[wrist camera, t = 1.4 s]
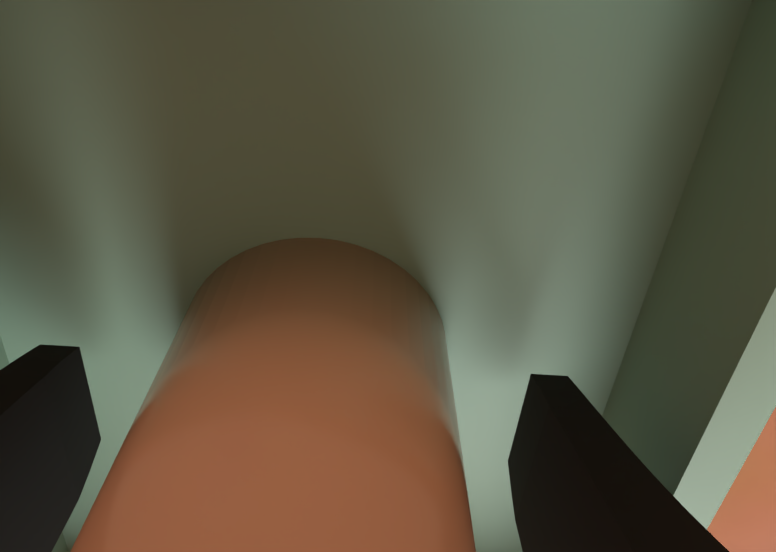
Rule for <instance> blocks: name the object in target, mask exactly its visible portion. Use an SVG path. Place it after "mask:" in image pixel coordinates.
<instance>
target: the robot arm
mask: <svg viewBox="0 0 776 552" xmlns="http://www.w3.org/2000/svg"><path fill="white" fill-rule="evenodd" d="M100 442H101V436H100V432H99V428H98V423H97V419H96V415H95V411H94V406H93V402H92V398H91V393H90V389H89V385H88V381H87V376H86V372H85V368H84V364H83V359H82V355H81V351H80V347H76V346H59V345H43V344H40V345H38V346H37V347H35V348H33V349H32V350H30V351H29V352H27V353H25V354H24V355H22V356H21V357H19V358H18V359H16V360H15V361H13V362H11V363H10V364H8V365H7V366H5V367H4V368H2V369H1V370H0V552H52V550H53V548H54V546H55V544H56V543H57V541H58V539H59V537H60V535H61V533H62V531H63V529H64V527H65V525H66V523H67V521H68V520H69V518H70V516H71V514H72V512H73V510H74V508H75V506H76V504H77V502H78V500H79V498H80V495H81V493H82V490H83V488H84V485H85V482H86V480H87V477H88V475H89V472H90V469H91V467H92V464H93V461H94V458H95V456H96V453H97V450H98V447H99V444H100ZM508 468H509V476H510V485H511V494H512V501H513V508H514V515H515V522H516V526H517V530H518V534H519V539H520V543H521V547H522V551H523V552H729V551H728V550H727V549H726V548H725V547H724V546H723V545H722V544H721V543H720V542H718V541H717V540H716V539H715V538H714V537H713V536H712V535H711V534H710V533H709V532H708V531H707V530H706V529H705V528H704V527H703V526H702V525H701V524H700V523H699V522H698V521H697V520H696V519H695V518H694V517H693V516H692V515H691V514H690V513H689V512H688V511H687V510H686V509H685V508H684V507H683V506H682V505H681V503H680V502H679V501H678V500H677V499H676V498H675V497H674V496H673V495H672V494H671V493H670V492H669V491H668V490H667V489H666V488H665V487H664V486H663V485H662V483H661V482H660V481H659V480H658V479H657V478H656V477H655V476H654V475H653V474H652V473H651V471H650V470H649V469H648V468H647V467H646V466H645V465H644V464H643V463H642V461H641V460H640V459H639V458H638V457H637V456H636V455H635V454H634V453H633V451H632V450H631V449H630V448H629V447H628V446H627V445H626V443H625V442H624V441H623V440H622V439H621V438H620V437H619V435H618V434H617V433H616V432H615V431H614V430H613V428H612V427H611V426H610V425H609V424H608V423H607V421H606V420H605V419H604V418H603V417H602V416H601V414H600V413H599V412H598V411H597V410H596V408H595V407H594V406H593V405H592V404H591V402H590V401H589V400H588V399H587V398H586V397H585V395H584V394H583V393H582V392H581V391H580V389H579V388H578V387H577V386H576V385H575V384H574V382H573V381H572V380H571V379H570V378H569V377H568V376H560V375H543V374H531V375H530V379H529V383H528V386H527V390H526V394H525V398H524V402H523V405H522V409H521V413H520V417H519V420H518V424H517V428H516V432H515V435H514V439H513V443H512V447H511V451H510V454H509V458H508Z"/></svg>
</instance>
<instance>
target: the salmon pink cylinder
mask: <svg viewBox="0 0 776 552" xmlns="http://www.w3.org/2000/svg"><path fill="white" fill-rule="evenodd" d="M70 552H476V548H475V541H474V534H473V527H472V520H471V513H470V506H469V499H468V491H467V484H466V477H465V470H464V463H463V456H462V449H461V442H460V435H459V428H458V421H457V413H456V406H455V399H454V392H453V385H452V378H451V371H450V364H449V357H448V350H447V343H446V335H445V331H444V327H443V323H442V319H441V317H440V314H439V312H438V310H437V308H436V306H435V304H434V302H433V301H432V299H431V298H430V296H429V294H428V293H427V292H426V291H425V289H424V288H423V287H422V286H421V285H420V283H419V282H418V281H417V280H416V279H415V278H414V277H412V276H411V275H410V274H409V273H408V272H407V271H406V270H404V269H403V268H402V267H400V266H399V265H397V264H396V263H394V262H393V261H391V260H390V259H388V258H386V257H384V256H382V255H380V254H378V253H376V252H374V251H372V250H369V249H366V248H364V247H361V246H358V245H355V244H351V243H347V242H343V241H339V240H331V239H323V238H293V239H283V240H278V241H274V242H269V243H265V244H261V245H259V246H256V247H253V248H251V249H248V250H245V251H244V252H242V253H240V254H238V255H236V256H234V257H232V258H230V259H229V260H228V261H226V262H225V263H223V264H222V265H221V266H219V267H218V268H217V269H216V270H215V271H214V272H213V273H212V274H211V275H210V276H209V277H208V278H207V279H206V280H205V281H204V282H203V284H202V285H201V286H200V288H199V289H198V290H197V292H196V294H195V296H194V298H193V300H192V302H191V304H190V306H189V308H188V310H187V312H186V314H185V316H184V318H183V320H182V322H181V324H180V327H179V329H178V331H177V333H176V335H175V337H174V339H173V341H172V343H171V345H170V347H169V349H168V351H167V353H166V355H165V357H164V360H163V362H162V364H161V366H160V368H159V370H158V372H157V374H156V376H155V378H154V380H153V382H152V384H151V386H150V388H149V390H148V392H147V395H146V397H145V399H144V401H143V403H142V405H141V407H140V409H139V411H138V413H137V415H136V417H135V419H134V421H133V423H132V425H131V427H130V430H129V432H128V434H127V436H126V438H125V440H124V442H123V444H122V446H121V448H120V450H119V452H118V454H117V456H116V458H115V460H114V463H113V465H112V467H111V469H110V471H109V473H108V475H107V477H106V479H105V481H104V483H103V485H102V487H101V489H100V491H99V493H98V495H97V498H96V500H95V502H94V504H93V506H92V508H91V510H90V512H89V514H88V516H87V518H86V520H85V522H84V524H83V526H82V528H81V531H80V533H79V535H78V537H77V539H76V541H75V543H74V545H73V547H72V549H71V551H70Z"/></svg>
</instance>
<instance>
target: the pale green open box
mask: <svg viewBox="0 0 776 552" xmlns="http://www.w3.org/2000/svg"><path fill="white" fill-rule="evenodd" d="M293 238H323V239H331V240H339V241H343V242H347V243H351V244H355V245H358V246H361V247H364V248H366V249H369V250H372V251H374V252H376V253H378V254H380V255H382V256H384V257H386V258H388V259H390V260H391V261H393V262H394V263H396V264H397V265H399V266H400V267H402V268H403V269H404V270H406V271H407V272H408V273H409V274H410V275H411V276H412V277H414V278H415V279H416V280H417V281H418V282H419V283H420V285H421V286H422V287H423V288H424V289H425V291H426V292H427V293H428V294H429V296H430V298H431V299H432V301H433V302H434V304H435V306H436V308H437V310H438V312H439V314H440V317H441V319H442V323H443V327H444V331H445V335H446V343H447V350H448V357H449V364H450V371H451V378H452V385H453V392H454V399H455V406H456V413H457V421H458V428H459V435H460V442H461V449H462V456H463V463H464V470H465V477H466V484H467V491H468V499H469V506H470V513H471V520H472V527H473V534H474V541H475V548H476V552H523V551H522V547H521V543H520V539H519V534H518V530H517V526H516V522H515V515H514V508H513V501H512V494H511V485H510V476H509V468H508V458H509V454H510V451H511V447H512V443H513V439H514V435H515V432H516V428H517V424H518V420H519V417H520V413H521V409H522V405H523V402H524V398H525V394H526V390H527V386H528V383H529V379H530V375H531V374H543V375H560V376H568V377H569V378H570V379H571V380H572V381H573V382H574V384H575V385H576V386H577V387H578V388H579V389H580V391H581V392H582V393H583V394H584V395H585V397H586V398H587V399H588V400H589V401H590V402H591V404H592V405H593V406H594V407H595V408H596V410H597V411H598V412H599V413H600V414H601V416H602V417H603V418H604V419H605V420H606V421H607V423H608V424H609V425H610V426H611V427H612V428H613V430H614V431H615V432H616V433H617V434H618V435H619V437H620V438H621V439H622V440H623V441H624V442H625V443H626V445H627V446H628V447H629V448H630V449H631V450H632V451H633V453H634V454H635V455H636V456H637V457H638V458H639V459H640V460H641V461H642V463H643V464H644V465H645V466H646V467H647V468H648V469H649V470H650V471H651V473H652V474H653V475H654V476H655V477H656V478H657V479H658V480H659V481H660V482H661V483H662V485H663V486H664V487H665V488H666V489H667V490H668V491H669V492H670V493H671V494H672V495H673V496H674V497H675V498H676V499H677V500H678V501H679V502H680V503H681V505H682V506H683V507H684V508H685V509H686V510H687V511H688V512H689V513H690V514H691V515H692V516H693V517H694V518H695V519H696V520H697V521H698V522H699V523H700V524H701V525H702V526H703V527H704V528H705V529H706V530H707V528H708V526H709V525H710V523H711V521H712V519H713V518H714V516H715V514H716V512H717V510H718V509H719V507H720V505H721V503H722V501H723V500H724V498H725V496H726V494H727V493H728V491H729V489H730V487H731V485H732V484H733V482H734V480H735V478H736V476H737V475H738V473H739V471H740V469H741V467H742V466H743V464H744V462H745V460H746V459H747V457H748V455H749V453H750V451H751V450H752V448H753V446H754V444H755V442H756V441H757V439H758V437H759V435H760V434H761V432H762V430H763V428H764V426H765V425H766V423H767V421H768V419H769V417H770V416H771V414H772V412H773V410H774V408H775V407H776V0H0V370H1V369H2V368H4V367H5V366H7V365H8V364H10V363H11V362H13V361H15V360H16V359H18V358H19V357H21V356H22V355H24V354H25V353H27V352H29V351H30V350H32V349H33V348H35V347H37V346H38V345H40V344H43V345H59V346H76V347H80V351H81V355H82V359H83V364H84V368H85V372H86V376H87V381H88V385H89V389H90V393H91V398H92V402H93V406H94V411H95V415H96V419H97V423H98V428H99V432H100V436H101V442H100V444H99V447H98V450H97V453H96V456H95V458H94V461H93V464H92V467H91V469H90V472H89V475H88V477H87V480H86V482H85V485H84V488H83V490H82V493H81V495H80V498H79V500H78V502H77V504H76V506H75V508H74V510H73V512H72V514H71V516H70V518H69V520H68V521H67V523H66V525H65V527H64V529H63V531H62V533H61V535H60V537H59V539H58V541H57V543H56V544H55V546H54V548H53V550H52V552H70V551H71V549H72V547H73V545H74V543H75V541H76V539H77V537H78V535H79V533H80V531H81V528H82V526H83V524H84V522H85V520H86V518H87V516H88V514H89V512H90V510H91V508H92V506H93V504H94V502H95V500H96V498H97V495H98V493H99V491H100V489H101V487H102V485H103V483H104V481H105V479H106V477H107V475H108V473H109V471H110V469H111V467H112V465H113V463H114V460H115V458H116V456H117V454H118V452H119V450H120V448H121V446H122V444H123V442H124V440H125V438H126V436H127V434H128V432H129V430H130V427H131V425H132V423H133V421H134V419H135V417H136V415H137V413H138V411H139V409H140V407H141V405H142V403H143V401H144V399H145V397H146V395H147V392H148V390H149V388H150V386H151V384H152V382H153V380H154V378H155V376H156V374H157V372H158V370H159V368H160V366H161V364H162V362H163V360H164V357H165V355H166V353H167V351H168V349H169V347H170V345H171V343H172V341H173V339H174V337H175V335H176V333H177V331H178V329H179V327H180V324H181V322H182V320H183V318H184V316H185V314H186V312H187V310H188V308H189V306H190V304H191V302H192V300H193V298H194V296H195V294H196V292H197V290H198V289H199V288H200V286H201V285H202V284H203V282H204V281H205V280H206V279H207V278H208V277H209V276H210V275H211V274H212V273H213V272H214V271H215V270H216V269H217V268H218V267H219V266H221V265H222V264H223V263H225V262H226V261H228V260H229V259H230V258H232V257H234V256H236V255H238V254H240V253H242V252H244V251H245V250H248V249H251V248H253V247H256V246H259V245H261V244H265V243H269V242H274V241H278V240H283V239H293Z"/></svg>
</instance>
